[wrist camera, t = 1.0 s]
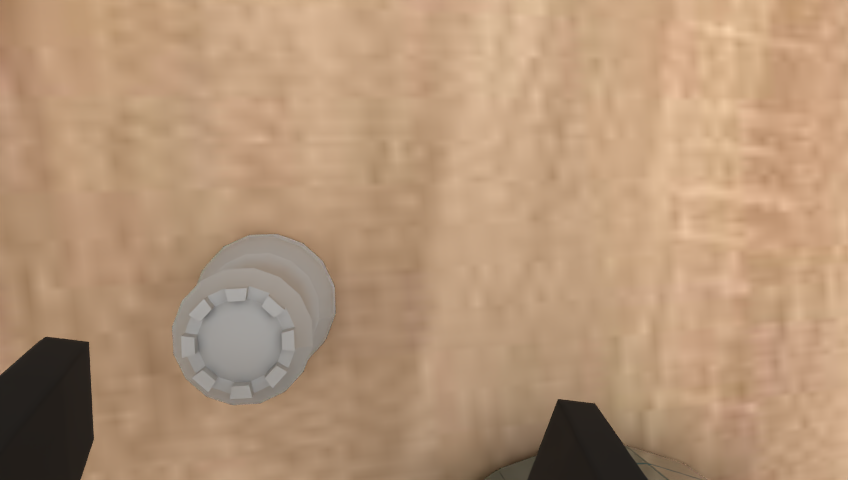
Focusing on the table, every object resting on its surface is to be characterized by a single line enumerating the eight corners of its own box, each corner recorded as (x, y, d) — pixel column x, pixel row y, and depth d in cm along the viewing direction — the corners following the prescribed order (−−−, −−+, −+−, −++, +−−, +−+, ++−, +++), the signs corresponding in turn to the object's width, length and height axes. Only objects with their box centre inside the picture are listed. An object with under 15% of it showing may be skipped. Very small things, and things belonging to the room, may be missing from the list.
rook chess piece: (346, 243, 26) (353, 260, 18) (325, 377, 26) (322, 454, 18) (207, 222, 25) (150, 229, 17) (187, 359, 25) (120, 430, 17)
